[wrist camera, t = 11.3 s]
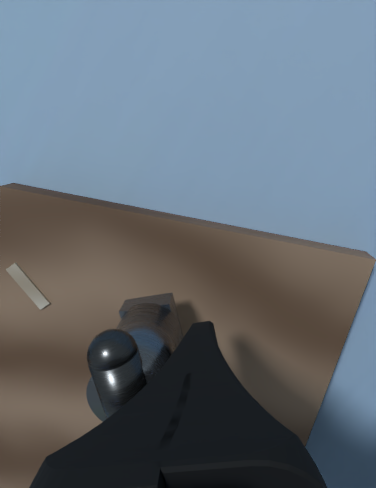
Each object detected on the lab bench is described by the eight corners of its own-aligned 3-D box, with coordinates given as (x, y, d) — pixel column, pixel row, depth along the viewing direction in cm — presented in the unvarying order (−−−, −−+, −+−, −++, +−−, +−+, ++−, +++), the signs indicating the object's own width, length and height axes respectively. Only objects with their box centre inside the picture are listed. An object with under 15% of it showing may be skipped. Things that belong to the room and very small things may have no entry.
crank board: (264, 527, 21) (267, 548, 20) (8, 472, 21) (-3, 490, 20) (366, 251, 15) (376, 260, 14) (13, 182, 16) (-2, 186, 14)
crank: (251, 522, 19) (268, 707, 13) (181, 526, 20) (165, 706, 14) (192, 250, 15) (175, 336, 8) (103, 266, 15) (25, 357, 9)
